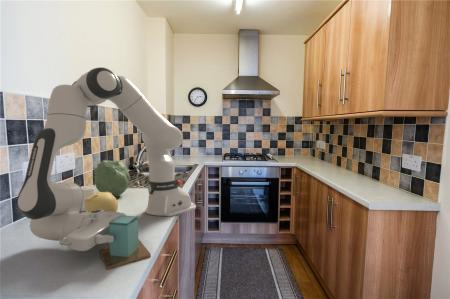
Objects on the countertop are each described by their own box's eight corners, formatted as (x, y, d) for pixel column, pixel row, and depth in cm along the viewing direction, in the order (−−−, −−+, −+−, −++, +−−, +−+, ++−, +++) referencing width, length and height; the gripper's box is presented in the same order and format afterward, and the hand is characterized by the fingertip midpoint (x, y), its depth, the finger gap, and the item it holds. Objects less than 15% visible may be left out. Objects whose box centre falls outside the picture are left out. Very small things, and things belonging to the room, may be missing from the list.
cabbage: (126, 200, 130) (125, 162, 128) (88, 201, 129) (86, 162, 127) (134, 192, 145) (133, 157, 144) (100, 192, 144) (99, 157, 142)
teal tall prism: (121, 245, 80) (120, 215, 79) (138, 247, 79) (137, 216, 78) (110, 255, 74) (109, 222, 73) (128, 257, 73) (127, 223, 72)
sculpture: (106, 210, 115) (105, 187, 114) (123, 215, 109) (122, 191, 108) (81, 218, 105) (79, 193, 104) (98, 224, 99) (97, 197, 98)
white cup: (99, 208, 117) (98, 187, 116) (80, 213, 111) (79, 190, 110) (93, 205, 122) (92, 184, 121) (74, 208, 117) (73, 187, 116)
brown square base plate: (115, 239, 86) (115, 216, 86) (162, 243, 84) (162, 220, 83) (79, 266, 70) (77, 238, 69) (136, 273, 67) (135, 244, 66)
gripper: (54, 232, 68) (100, 236, 66) (103, 207, 88) (140, 210, 86) (55, 254, 68) (101, 259, 66) (103, 225, 89) (140, 228, 86)
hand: (123, 231), depth 76 cm, fingers open, 8 cm apart
